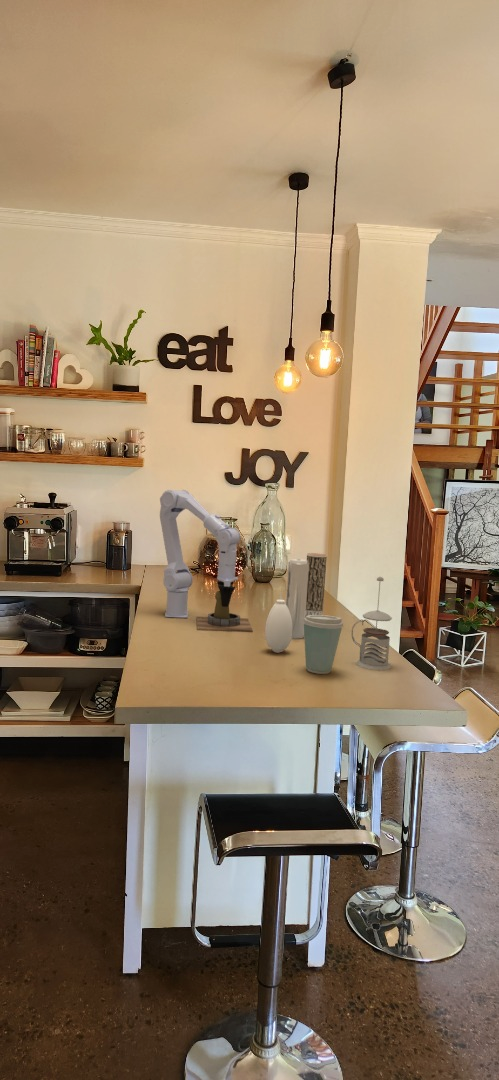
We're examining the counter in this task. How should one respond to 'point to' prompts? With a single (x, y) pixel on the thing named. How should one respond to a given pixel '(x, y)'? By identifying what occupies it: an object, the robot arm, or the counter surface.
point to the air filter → (297, 595)
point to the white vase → (278, 626)
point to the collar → (224, 620)
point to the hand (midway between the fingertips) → (224, 604)
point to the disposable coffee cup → (321, 641)
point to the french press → (374, 641)
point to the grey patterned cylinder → (315, 583)
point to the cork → (220, 608)
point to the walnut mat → (243, 627)
